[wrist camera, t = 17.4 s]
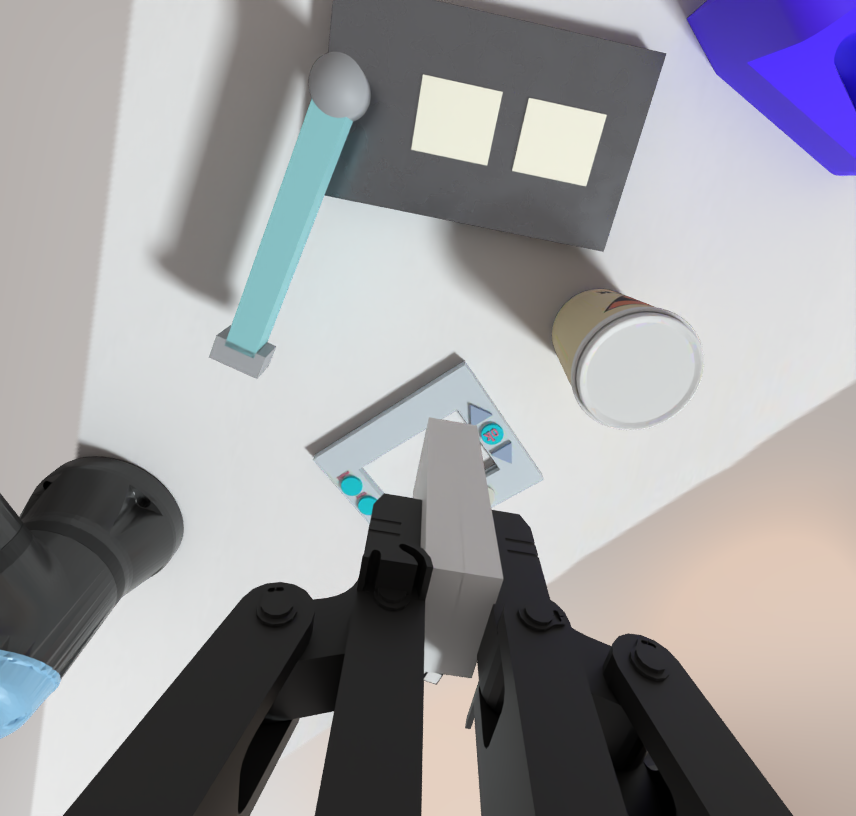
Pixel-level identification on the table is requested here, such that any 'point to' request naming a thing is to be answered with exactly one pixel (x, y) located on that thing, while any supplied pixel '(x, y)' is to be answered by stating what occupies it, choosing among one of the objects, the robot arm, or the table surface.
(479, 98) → the label
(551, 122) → the label
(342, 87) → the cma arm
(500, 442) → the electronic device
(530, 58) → the plate
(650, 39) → the table surface
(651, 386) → the coffee cup
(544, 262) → the table surface
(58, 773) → the table surface
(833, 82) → the bracket
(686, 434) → the table surface
